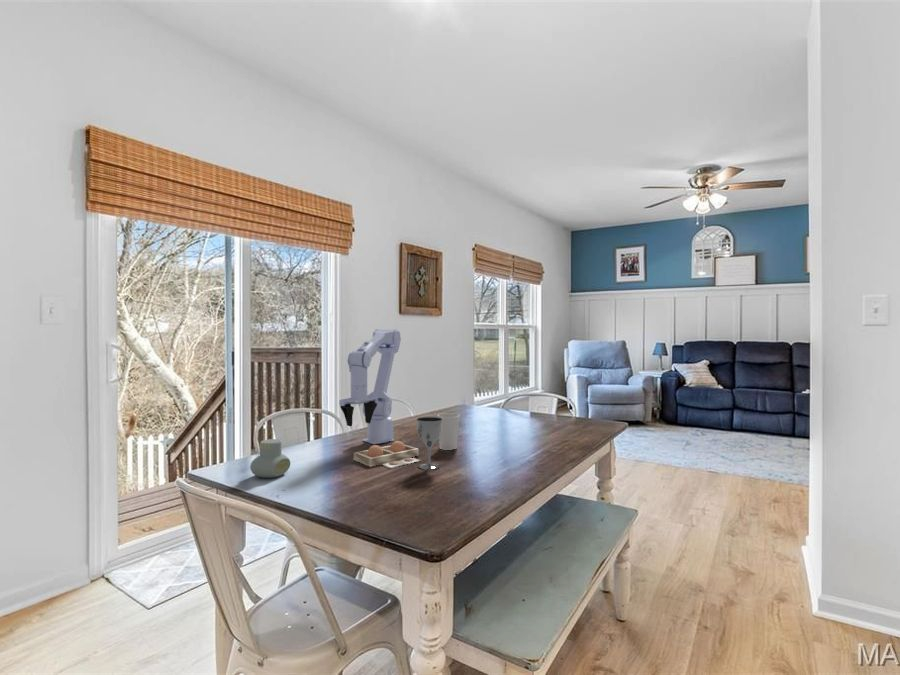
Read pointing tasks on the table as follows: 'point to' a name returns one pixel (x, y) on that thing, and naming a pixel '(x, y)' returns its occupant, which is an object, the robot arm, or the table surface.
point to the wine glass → (429, 435)
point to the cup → (449, 431)
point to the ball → (397, 447)
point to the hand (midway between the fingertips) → (358, 424)
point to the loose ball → (375, 451)
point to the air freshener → (270, 460)
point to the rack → (388, 457)
